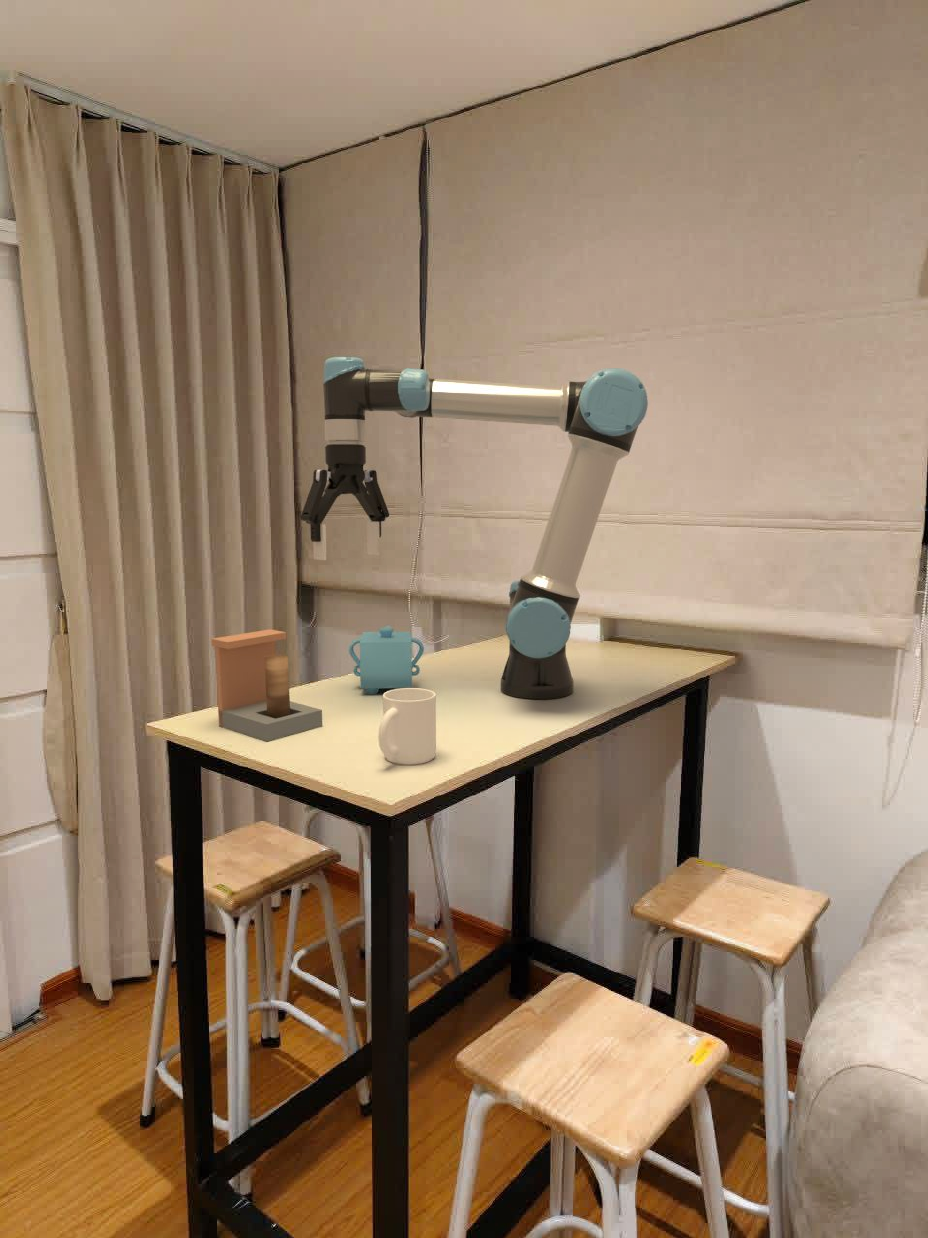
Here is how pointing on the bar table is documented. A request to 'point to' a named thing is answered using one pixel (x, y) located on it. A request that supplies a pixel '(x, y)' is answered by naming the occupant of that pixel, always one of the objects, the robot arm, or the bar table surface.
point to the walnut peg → (277, 685)
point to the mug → (408, 726)
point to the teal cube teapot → (385, 659)
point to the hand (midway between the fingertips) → (347, 557)
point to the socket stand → (254, 688)
